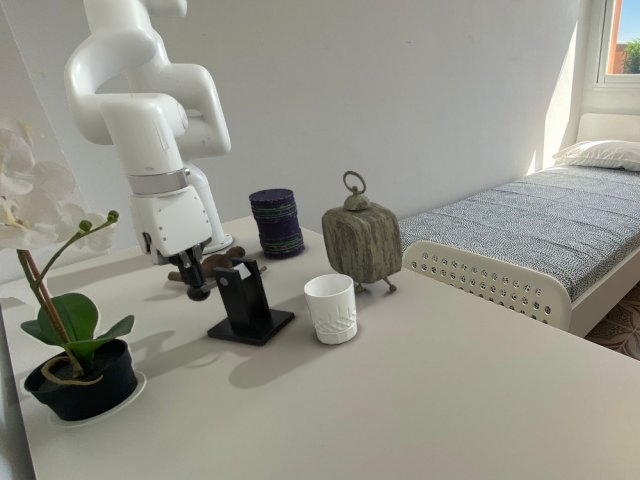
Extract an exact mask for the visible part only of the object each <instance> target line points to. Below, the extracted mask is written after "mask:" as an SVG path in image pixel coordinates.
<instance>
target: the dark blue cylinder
mask: <svg viewBox="0 0 640 480" xmlns="http://www.w3.org/2000/svg"><path fill="white" fill-rule="evenodd" d="M294 194H295V193H294V191H293V190H292V189H290V188H269V189H262V190H258V191H255V192H252V193H251V194H249V195H248V200H249V204H250V209H251V213H252V217H253V219H254V221H255V222H256V227H257V230H258V239H259V244H260V247H261V250H262V252H263V253H262V254H263V256H264V257H263V258H265V259H268V260H275V261H276V260H277V261H279V260H288V259H291V258H294V257H297V256H299V255H301V254H303V253H304V252H305V250H306V248H305V247H306V246H305V244H304V243H305V242H304V235H303V232H302V228H301V227H300V224H299V218H298V214H299V213H298V209H297V206H298V205H297V202H296V199H295V197H294V196H295V195H294Z"/></svg>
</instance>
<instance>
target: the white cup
mask: <svg viewBox="0 0 640 480" xmlns="http://www.w3.org/2000/svg"><path fill="white" fill-rule="evenodd" d="M303 293H304V296H305V299H306V304H307V307H308V310H309V314H310V317H311V320H312V323H313V326H314V328H315V332H316V336H317V339H318V340H319V341H320V342H321V343H323V344H327V345H339V344H344V343H345V342H348V341H350V340H351V339H352V338H354V337H355V336H356V334H357V332H358V326H357V306H356V296H355V287H354V281H353V280H352V278H351V277H349V276H347V275H343V274H339V273H331V274H329V273H328V274H324V275H320V276H317V277H314V278H312V279H310V280H308V281H307V282H306V283H305V285H304V286H303Z"/></svg>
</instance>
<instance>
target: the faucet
mask: <svg viewBox="0 0 640 480" xmlns="http://www.w3.org/2000/svg"><path fill="white" fill-rule="evenodd" d="M245 256H246V250H245V248H244V247H242V246H241V245H236V246H231V247H229V248H228V250H227V251H226V252H225V253H214V254H211V255H209V256H207V257H205V258H204V259H202V261H201V262H200V263H201V266H202V269H203V272H204V276H205V278H206V279H215V277H214V274H213V271H212V269H214V268H216V267H221V268H228V269H231V268H233V266H232V262H231V259H232V258H234V257H239V258H245ZM267 270H268V266H266V265H263V266H262V267H260V268H259V272H260V276H262V275H263V272H265V271H267ZM167 279H168V280H169V282H170V281H172V282H180V283H184V282H183V280H182V277H181V275H180V272H179V271H172V270H171V271H170V272H168V274H167Z"/></svg>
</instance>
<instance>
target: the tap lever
mask: <svg viewBox="0 0 640 480" xmlns="http://www.w3.org/2000/svg"><path fill="white" fill-rule="evenodd" d="M231 269H236V270H239V272H240V275H241V279H242V280H243V279H245V278H247V277H248V276H250V275H251V273H250V272H249V270H248V269H247V268H246V266H245V265H244V263H241V264H239V265H237V266H235V267H233V268H231ZM216 288H218V286H217V283H216V280H214V281H212V282H209V283H207V282H205V283H204V284H201V285H200V286H191V285H188V287H187V289H186V296H187V297H188V299H189V300H191V301H193V302H196V303H201V302H204V301H206V300H207V299H209V297H210V296H211V290H213V289H216Z"/></svg>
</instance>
